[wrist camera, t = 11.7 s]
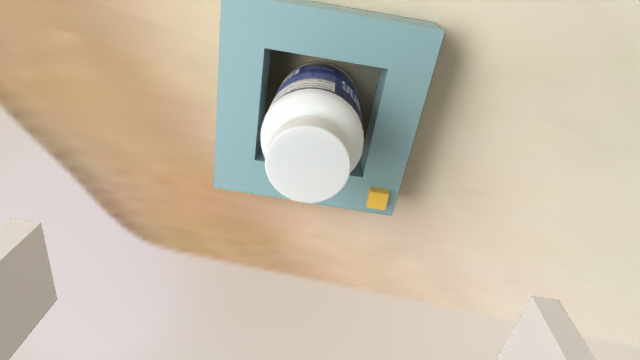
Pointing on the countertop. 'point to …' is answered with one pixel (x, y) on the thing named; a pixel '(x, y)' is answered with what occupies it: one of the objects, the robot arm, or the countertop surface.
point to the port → (330, 43)
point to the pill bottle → (312, 133)
